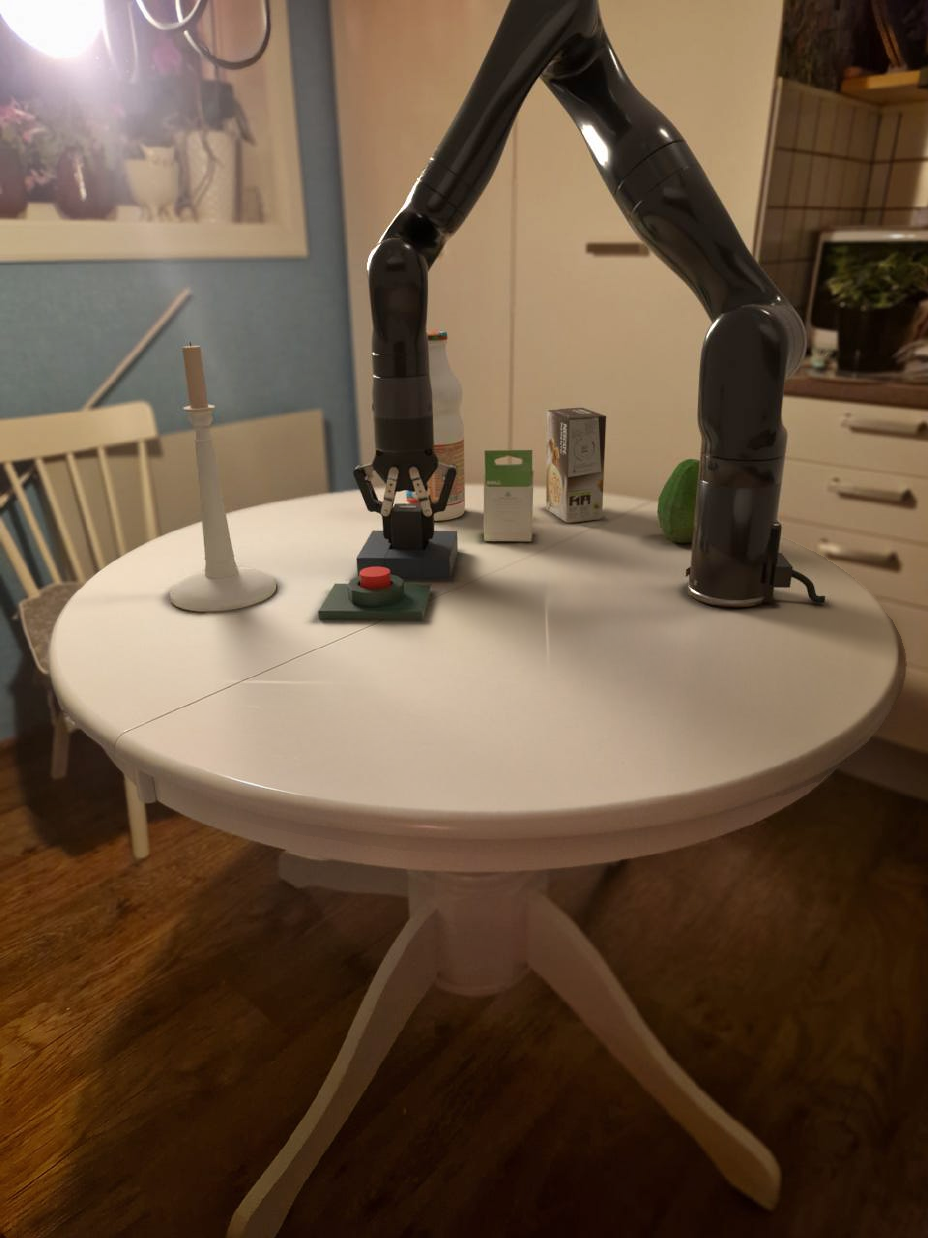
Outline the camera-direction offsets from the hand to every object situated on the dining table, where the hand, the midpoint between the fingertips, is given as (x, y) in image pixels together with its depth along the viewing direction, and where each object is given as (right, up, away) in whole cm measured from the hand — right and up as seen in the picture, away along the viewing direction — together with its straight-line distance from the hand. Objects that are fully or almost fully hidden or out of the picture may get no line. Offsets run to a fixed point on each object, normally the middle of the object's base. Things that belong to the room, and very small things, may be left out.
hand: (409, 540), depth 115 cm
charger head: (0, -1, +1) cm, 1 cm away
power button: (-3, -6, -13) cm, 15 cm away
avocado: (+39, +1, +9) cm, 40 cm away
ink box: (+14, +1, +12) cm, 18 cm away
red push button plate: (-3, -9, -12) cm, 15 cm away
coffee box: (+25, +6, +23) cm, 34 cm away
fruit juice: (+3, +6, +24) cm, 25 cm away
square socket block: (0, -3, +1) cm, 3 cm away
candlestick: (-23, -7, -7) cm, 25 cm away
